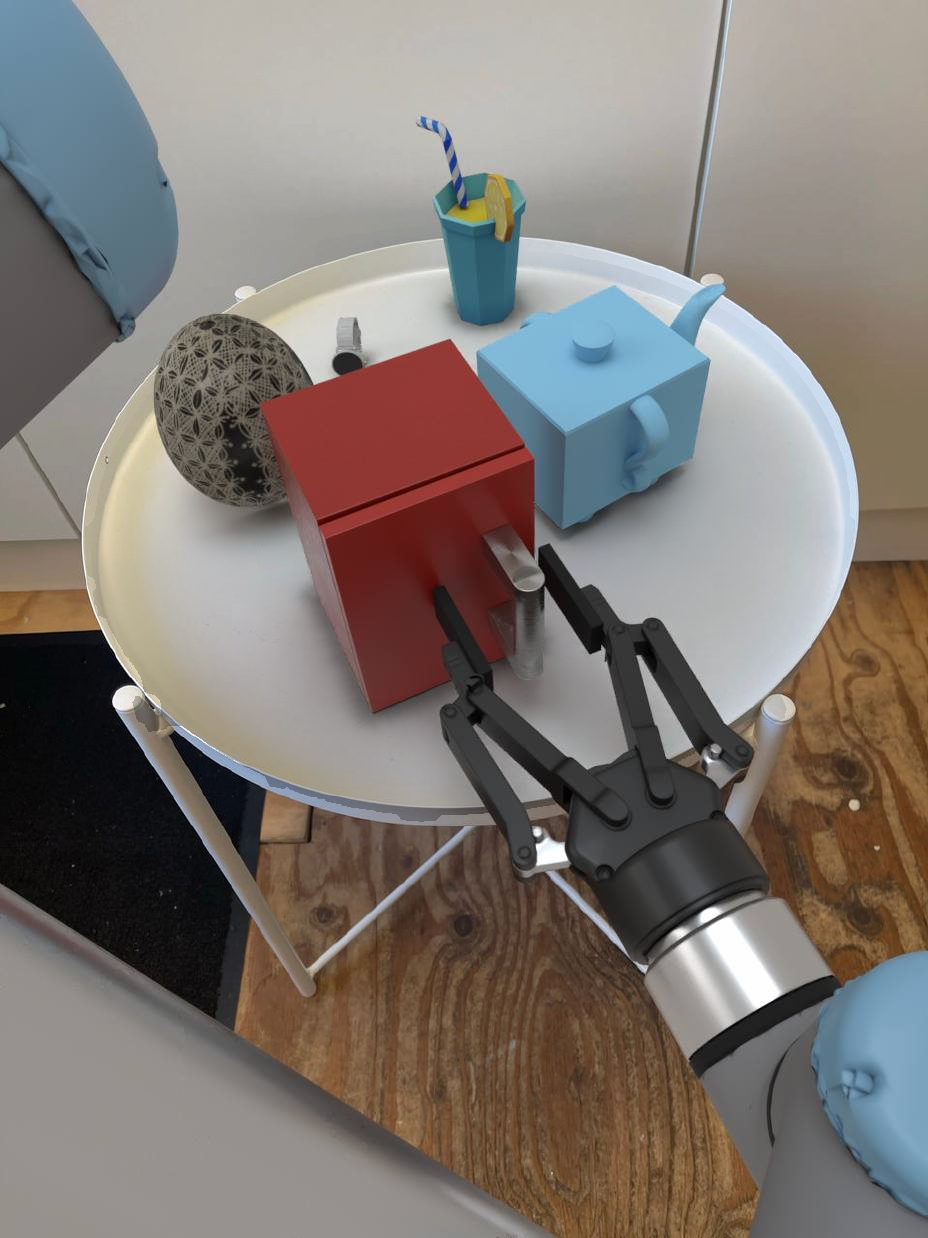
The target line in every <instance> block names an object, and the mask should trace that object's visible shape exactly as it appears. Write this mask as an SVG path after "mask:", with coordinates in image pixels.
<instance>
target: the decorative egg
mask: <svg viewBox="0 0 928 1238" xmlns="http://www.w3.org/2000/svg"><path fill="white" fill-rule="evenodd" d="M312 385H315V384H314V382H313V380H312V377H311V376H310V374H309V373H308V371H307V368H306V367H305V365H304V363H303V361H302V360H301V359H300V357H299V356H298V354H297V353H296V352H295V351H294V349H293V348H292V347H291V346H290V345H289V344H288V343H287V342H286V341H285V340H284V339H283V338H282V337H281V336H279V335H278V334H277V333H276V332H275V331H273V330H272V329H270V328H269V327H267V326H266V325H264V324H262V323H259V322H257V321H256V320H254V319H252V318H248V317H245V316H241V315H238V314H232V313H213V314H208V315H204V316H199V317H198V318H196V319H194V320H192V321H190V322H188V323H187V324H185V325H184V326H183V327H181V328H180V329H179V330H178V332H177V333H176V334H174V335H173V337H172V338H171V339H170V340H169V342H168V343H167V345H166V347H165V349H164V350H163V352H162V354H161V357H160V360H159V362H158V365H157V368H156V371H155V376H154V382H153V408H154V409H153V410H154V411H153V412H154V415H155V422H156V426H157V431H158V435H159V437H160V440H161V443H162V445H163V448H164V450H165V453H166V454H167V456H168V458H169V459H170V461H171V463H172V464H173V465H174V467H175V468H176V470H177V471H178V473H179V474H180V475H181V477H183V479H184V480H185V481H186V482H187V483H188V484H189V485H191V486H192V487H193V488H194V489H196V490H197V491H198V492H200V493H201V494H202V495H205V496H207V498H210V499H211V500H213V501H215V502H219V503H222V504H224V505H229V506H232V507H238V508H257V507H258V508H259V507H265V506H267V505H271V504H274V503H276V502H277V503H278V502H280V501H282V500H284V499H286V498H288V497H287V494H286V490H285V487H284V484H283V481H282V477H281V474H280V471H279V467H278V464H277V461H276V458H275V454H274V451H273V448H272V444H271V441H270V438H269V435H268V431H267V428H266V425H265V421H264V417H263V415H262V412H261V408H260V405H259V404H260V403H262V402H265V401H268V400H271V399H274V398H277V397H280V396H283V395H286V394H289V393H292V392H295V391H297V390H300V389H303V388H306V387H309V386H312Z"/></svg>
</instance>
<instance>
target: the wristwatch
mask: <svg viewBox="0 0 928 1238" xmlns="http://www.w3.org/2000/svg"><path fill="white" fill-rule="evenodd" d="M361 337H362V331H361V329H360V326H359V320H358V317H357V316H347V317H339V318H338V319H337V323H336V347H335V354H334V355H333V356H332V358H331V362H330V363H331V367H332V371H334V373H336V375H338V377H339V376H341V375H344V374H347V373H350V372H353V371H356V370H359V369H362V368H365V365H367V360H364V358H363V350H362V349H363V347H362V346H363V345H362V338H361Z"/></svg>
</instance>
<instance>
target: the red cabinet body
mask: <svg viewBox="0 0 928 1238" xmlns="http://www.w3.org/2000/svg"><path fill="white" fill-rule="evenodd" d="M259 405H260V408H261V412H262V415H263V417H264V421H265V425H266V428H267V431H268V435H269V438H270V441H271V444H272V448H273V451H274V454H275V458H276V461H277V464H278V467H279V471H280V474H281V477H282V481H283V484H284V487H285V490H286V494H287V497H286V498H287V500H288V503H289V508H290V510H291V513H292V516H293V520H294V523H295V526H296V530H297V534H298V537H299V540H300V542H301V543H300V544H301V546H302V550H303V552H304V556H305V559H306V562H307V566H308V568H309V573H310V577H311V579H312V582H313V585H314V589H315V592H316V595H317V598H318V600H319V601H320V603H321V605H322V607H323V610H324V612H325V614H326V616H327V618H328V620H329V623H330V625H331V627H332V629H333V631H334V633H335V636H336V638H337V640H338V643H339V644H340V647H341V649H342V652H343V654H344V655H345V657H346V659H347V662H348V664H349V666H350V669H351V670H352V672H353V675H354V677H355V680H356V681H357V683H358V686H359V688H360V691H361V693H362V695H363V697H364V698H365V699H366V696H365V692H364V689H363V685H362V682H361V678H360V674H359V671H358V667H357V663H356V660H355V656H354V653H353V649H352V645H351V642H350V638H349V634H348V631H347V627H346V624H345V620H344V616H343V613H342V609H341V605H340V602H339V598H338V595H337V591H336V587H335V584H334V580H333V576H332V573H331V569H330V566H329V562H328V558H327V555H326V551H325V547H324V544H323V540H322V537H321V533H320V529H319V526H320V525H323V524H326V523H328V522H331V521H333V520H336V519H339V518H341V517H344V516H347V515H349V514H352V513H355V512H357V511H360V510H362V509H365V508H368V507H370V506H373V505H376V504H378V503H381V502H383V501H386V500H389V499H391V498H394V497H397V496H399V495H402V494H405V493H407V492H410V491H412V490H415V489H418V488H420V487H423V486H426V485H428V484H431V483H433V482H436V481H439V480H441V479H444V478H447V477H449V476H452V475H454V474H457V473H460V472H462V471H465V470H468V469H470V468H473V467H476V466H478V465H481V464H483V463H486V462H489V461H491V460H494V459H497V458H499V457H502V456H504V455H507V454H510V453H512V452H515V451H518V450H520V449H523V448H525V442H524V441H523V440H522V438H521V437H520V435H519V434H518V433H517V431H516V430H515V428H514V427H513V426H512V424H511V423H510V421H509V420H508V419H507V417H506V416H505V414H504V413H503V412H502V410H501V409H500V407H499V406H498V405H497V403H496V402H495V400H494V399H493V398H492V396H491V395H490V393H489V392H488V391H487V389H486V388H485V386H484V385H483V384H482V382H481V381H480V379H479V378H478V374H476V373H475V371H474V369H473V367H471V365H470V364H469V362H468V361H467V360H466V358H465V357H464V356H463V353H461V352H460V350H459V348H458V347H457V346H456V344H455V342H453V340H452V339H451V338H447V339H444V340H441V341H439V342H438V341H437V342H436V343H433V344H429V345H426V346H423V347H421V348H417V349H415V350H412V351H409V352H406V353H403V354H401V355H397V356H394V357H392V358H388V359H386V360H383V361H379V362H377V363H373V364H371V365H367V366H364V368H362V369H359V370H356V371H353V372H350V373H347V374H344V375H341V376H339V375H338V376H336V377H333V378H330V379H326V380H324V381H321V382H318V383H315V384H314V385H312V386H309V387H306V388H303V389H300V390H297V391H295V392H292V393H289V394H286V395H283V396H280V397H277V398H274V399H271V400H268V401H265V402H262V403H260V404H259Z"/></svg>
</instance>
